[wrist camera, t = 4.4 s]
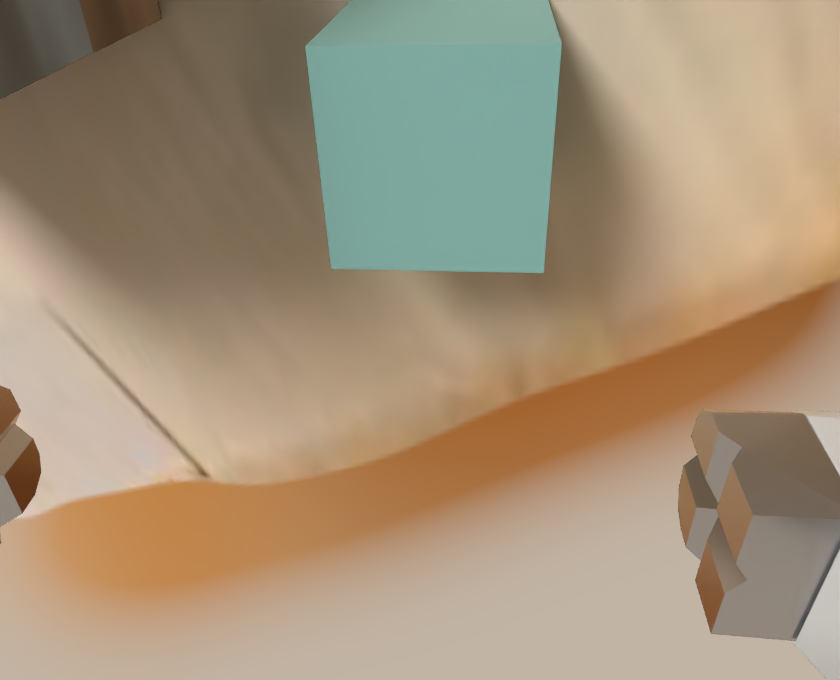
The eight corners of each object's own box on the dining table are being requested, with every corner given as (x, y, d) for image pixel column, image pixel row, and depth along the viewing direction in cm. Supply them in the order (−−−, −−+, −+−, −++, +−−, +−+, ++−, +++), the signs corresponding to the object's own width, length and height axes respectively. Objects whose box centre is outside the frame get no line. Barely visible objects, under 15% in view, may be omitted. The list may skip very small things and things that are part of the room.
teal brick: (545, -9, 18) (562, 43, 13) (533, 175, 21) (543, 272, 16) (356, -5, 19) (305, 46, 14) (369, 174, 22) (330, 268, 17)
